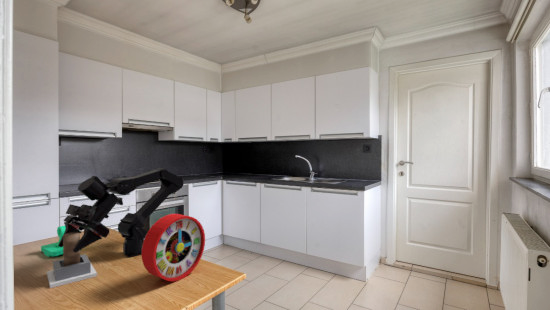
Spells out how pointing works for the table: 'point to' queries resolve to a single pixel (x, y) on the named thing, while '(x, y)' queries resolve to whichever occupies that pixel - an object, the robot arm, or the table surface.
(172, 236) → the toy clock
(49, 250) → the camera mount
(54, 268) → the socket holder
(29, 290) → the table surface
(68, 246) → the walnut peg
